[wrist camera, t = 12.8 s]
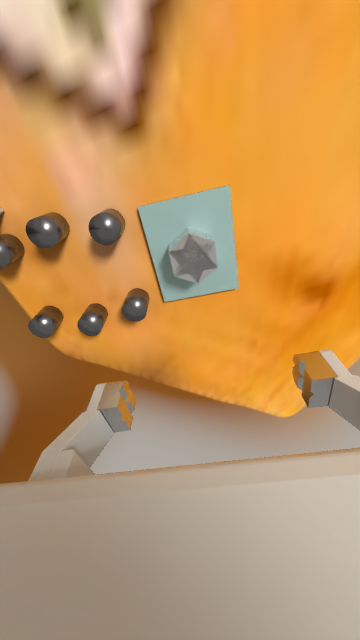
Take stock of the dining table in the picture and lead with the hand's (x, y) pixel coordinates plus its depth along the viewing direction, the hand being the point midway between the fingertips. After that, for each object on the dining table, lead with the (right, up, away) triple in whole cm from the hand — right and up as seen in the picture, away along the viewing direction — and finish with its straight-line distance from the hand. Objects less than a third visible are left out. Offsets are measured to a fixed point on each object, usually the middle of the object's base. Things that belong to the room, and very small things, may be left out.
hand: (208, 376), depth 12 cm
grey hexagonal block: (0, +11, +17) cm, 20 cm away
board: (0, +11, +17) cm, 21 cm away
